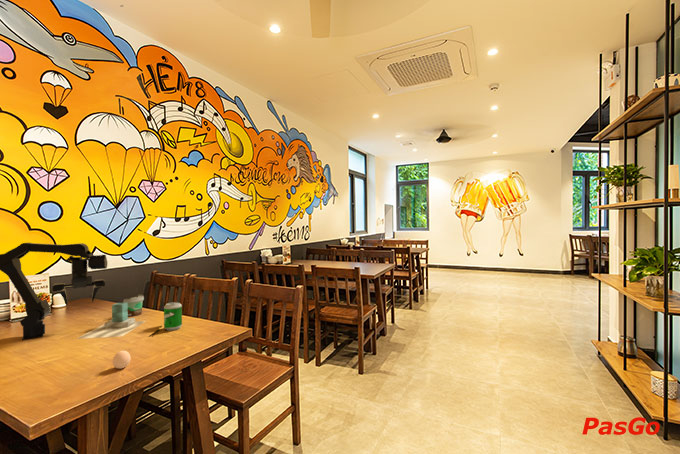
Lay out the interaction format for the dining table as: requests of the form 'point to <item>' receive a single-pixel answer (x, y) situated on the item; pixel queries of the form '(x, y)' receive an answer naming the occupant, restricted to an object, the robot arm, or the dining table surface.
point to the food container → (134, 305)
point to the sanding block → (119, 317)
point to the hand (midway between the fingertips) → (79, 303)
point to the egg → (121, 359)
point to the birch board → (110, 331)
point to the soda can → (172, 316)
